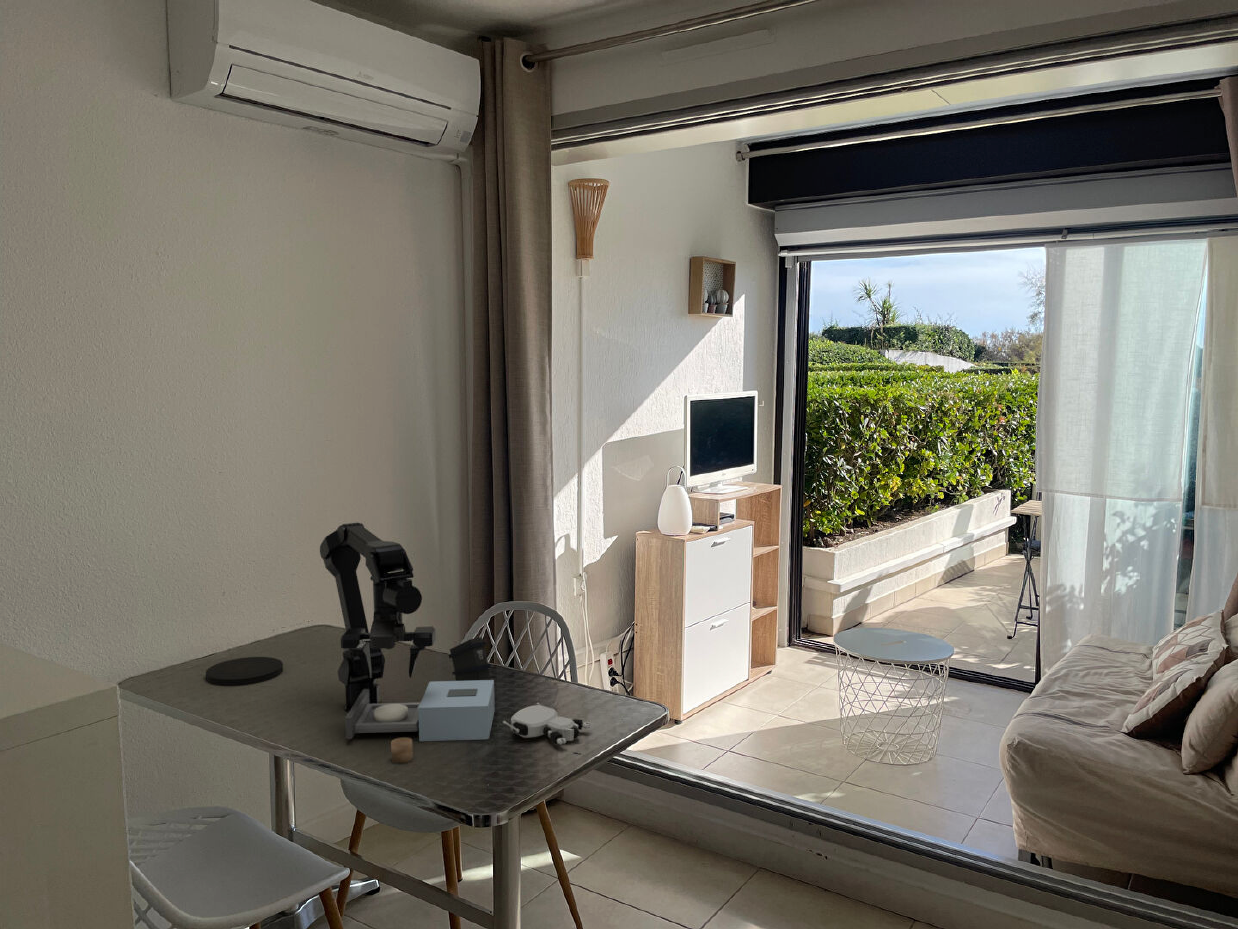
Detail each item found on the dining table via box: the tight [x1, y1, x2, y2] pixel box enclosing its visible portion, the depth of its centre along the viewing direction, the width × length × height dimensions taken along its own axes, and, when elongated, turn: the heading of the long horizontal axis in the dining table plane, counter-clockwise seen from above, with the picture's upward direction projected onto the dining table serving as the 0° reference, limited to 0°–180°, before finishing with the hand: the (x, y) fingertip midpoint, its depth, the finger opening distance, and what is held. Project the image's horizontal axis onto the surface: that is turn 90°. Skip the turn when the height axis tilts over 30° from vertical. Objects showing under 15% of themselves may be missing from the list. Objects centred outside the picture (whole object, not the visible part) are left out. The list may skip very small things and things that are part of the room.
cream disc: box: [374, 704, 408, 723], centre depth 195 cm, size 7×7×2 cm
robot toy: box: [502, 702, 591, 745], centre depth 191 cm, size 12×4×15 cm
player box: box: [418, 679, 496, 742], centre depth 196 cm, size 14×16×7 cm
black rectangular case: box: [448, 636, 492, 681], centre depth 211 cm, size 4×13×15 cm, turn 40°
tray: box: [344, 689, 421, 740], centre depth 195 cm, size 14×17×4 cm
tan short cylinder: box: [390, 736, 414, 764], centre depth 179 cm, size 4×4×4 cm
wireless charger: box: [205, 656, 284, 687], centre depth 231 cm, size 18×18×2 cm
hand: (390, 677), depth 195 cm, fingers open, 8 cm apart
